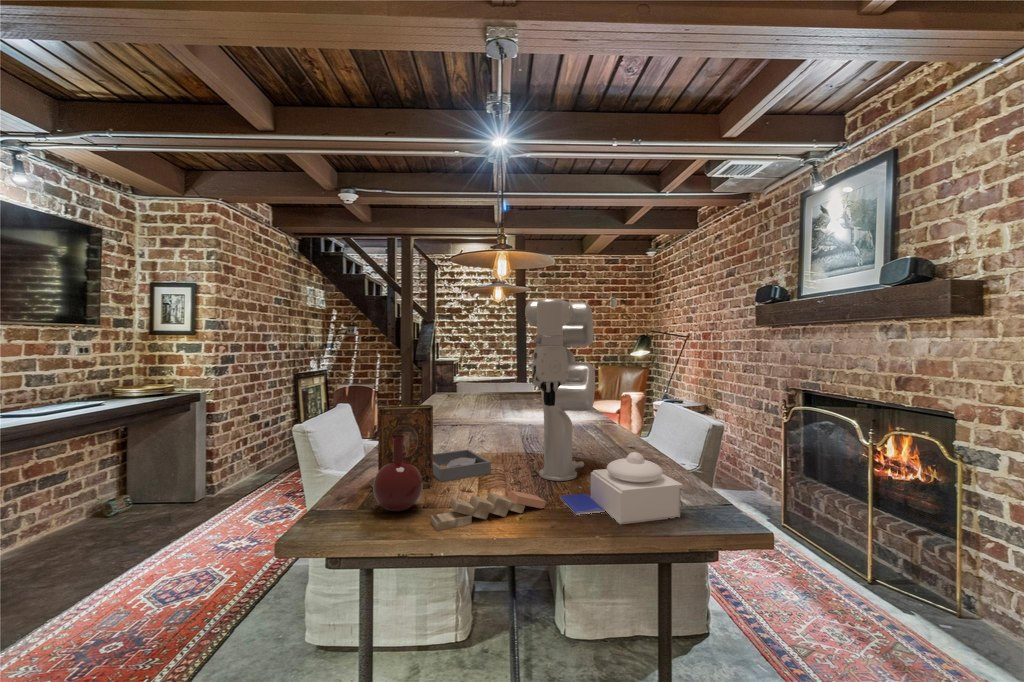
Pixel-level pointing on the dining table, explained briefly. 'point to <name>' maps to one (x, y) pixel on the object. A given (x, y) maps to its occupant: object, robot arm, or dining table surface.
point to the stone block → (461, 462)
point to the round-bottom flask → (398, 481)
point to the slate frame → (461, 471)
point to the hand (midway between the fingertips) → (549, 405)
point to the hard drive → (582, 504)
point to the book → (408, 437)
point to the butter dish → (635, 490)
